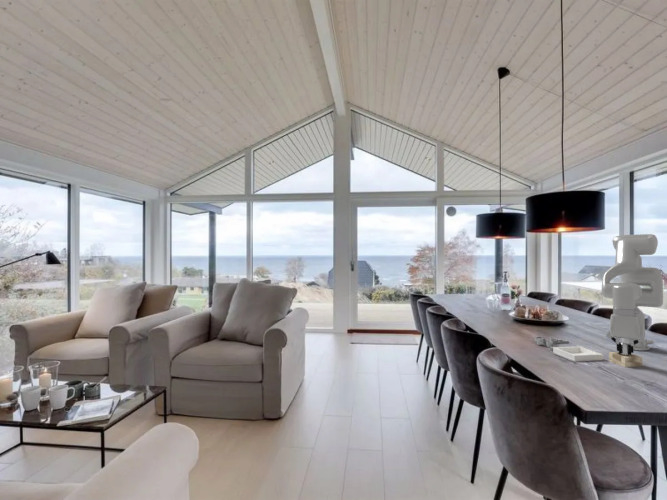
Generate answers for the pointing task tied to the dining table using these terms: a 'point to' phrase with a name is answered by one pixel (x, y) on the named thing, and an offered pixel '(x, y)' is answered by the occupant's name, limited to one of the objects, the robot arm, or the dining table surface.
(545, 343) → the pulley system
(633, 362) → the tan hollow square block
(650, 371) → the dining table surface
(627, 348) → the pin
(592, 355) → the tray
